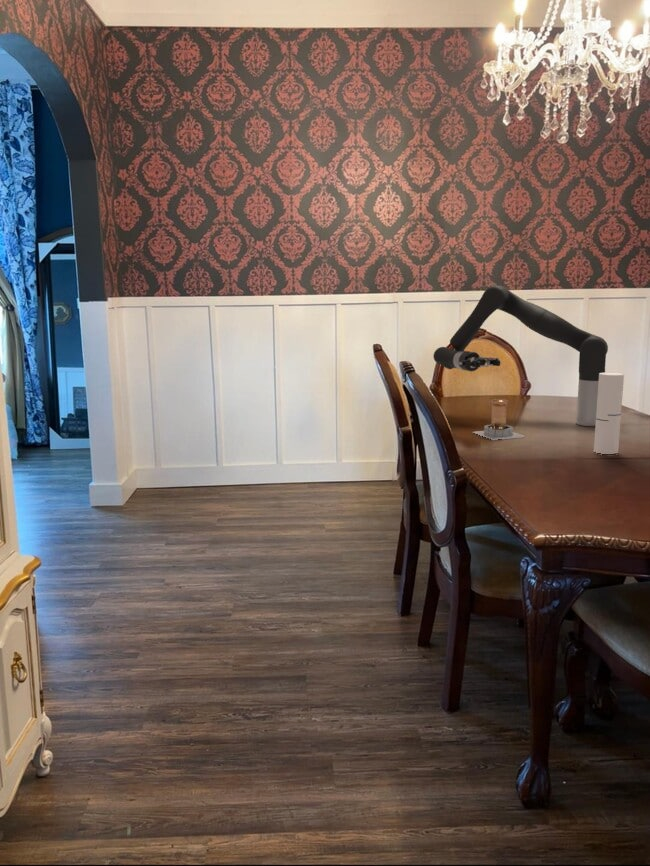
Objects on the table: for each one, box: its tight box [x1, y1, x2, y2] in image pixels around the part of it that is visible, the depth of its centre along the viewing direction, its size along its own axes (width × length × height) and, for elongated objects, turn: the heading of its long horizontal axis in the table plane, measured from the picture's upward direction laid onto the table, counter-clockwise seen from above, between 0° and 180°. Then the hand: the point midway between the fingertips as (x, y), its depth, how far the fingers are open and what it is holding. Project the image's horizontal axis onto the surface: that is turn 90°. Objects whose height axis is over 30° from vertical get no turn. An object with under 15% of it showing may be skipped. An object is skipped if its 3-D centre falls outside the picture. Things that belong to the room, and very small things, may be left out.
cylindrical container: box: [593, 372, 625, 455], centre depth 217 cm, size 7×7×25 cm
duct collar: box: [472, 424, 526, 441], centre depth 247 cm, size 13×13×3 cm
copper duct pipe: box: [490, 398, 509, 429], centre depth 246 cm, size 6×6×12 cm
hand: (489, 363), depth 256 cm, fingers open, 8 cm apart
